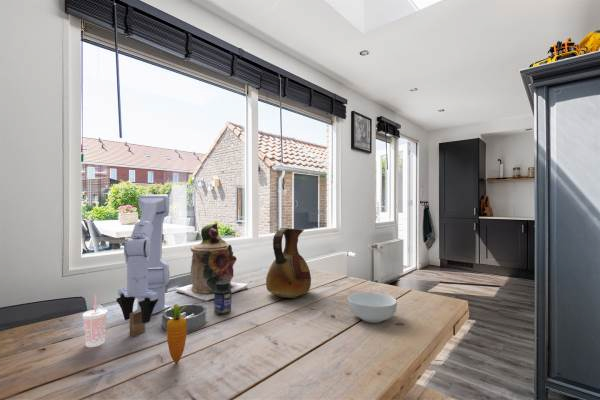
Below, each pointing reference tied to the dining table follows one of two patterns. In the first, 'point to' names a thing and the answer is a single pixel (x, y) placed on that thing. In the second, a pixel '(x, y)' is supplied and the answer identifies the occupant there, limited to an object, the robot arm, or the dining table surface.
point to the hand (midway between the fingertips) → (137, 320)
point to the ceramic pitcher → (288, 266)
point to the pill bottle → (222, 298)
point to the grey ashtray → (188, 316)
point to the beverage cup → (95, 326)
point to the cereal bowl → (372, 306)
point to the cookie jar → (211, 265)
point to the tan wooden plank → (136, 323)
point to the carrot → (176, 333)
